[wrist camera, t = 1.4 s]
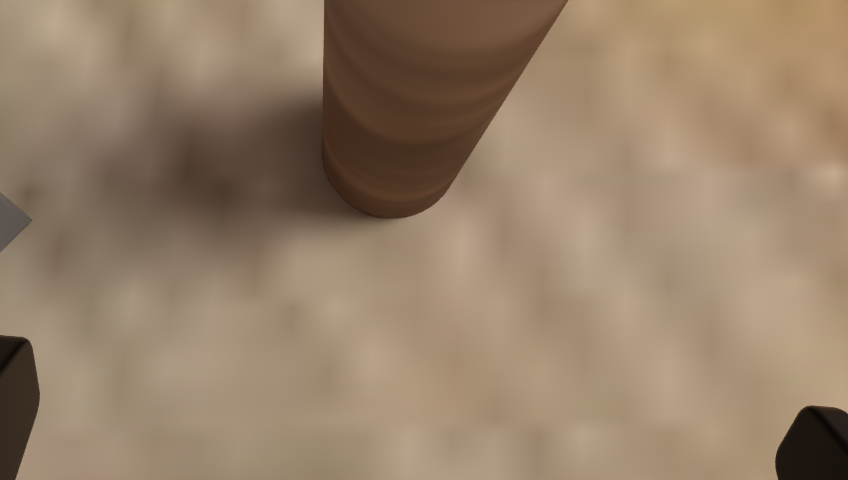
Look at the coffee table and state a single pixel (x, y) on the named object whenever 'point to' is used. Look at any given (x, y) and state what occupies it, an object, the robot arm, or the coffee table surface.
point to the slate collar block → (10, 221)
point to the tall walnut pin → (417, 91)
